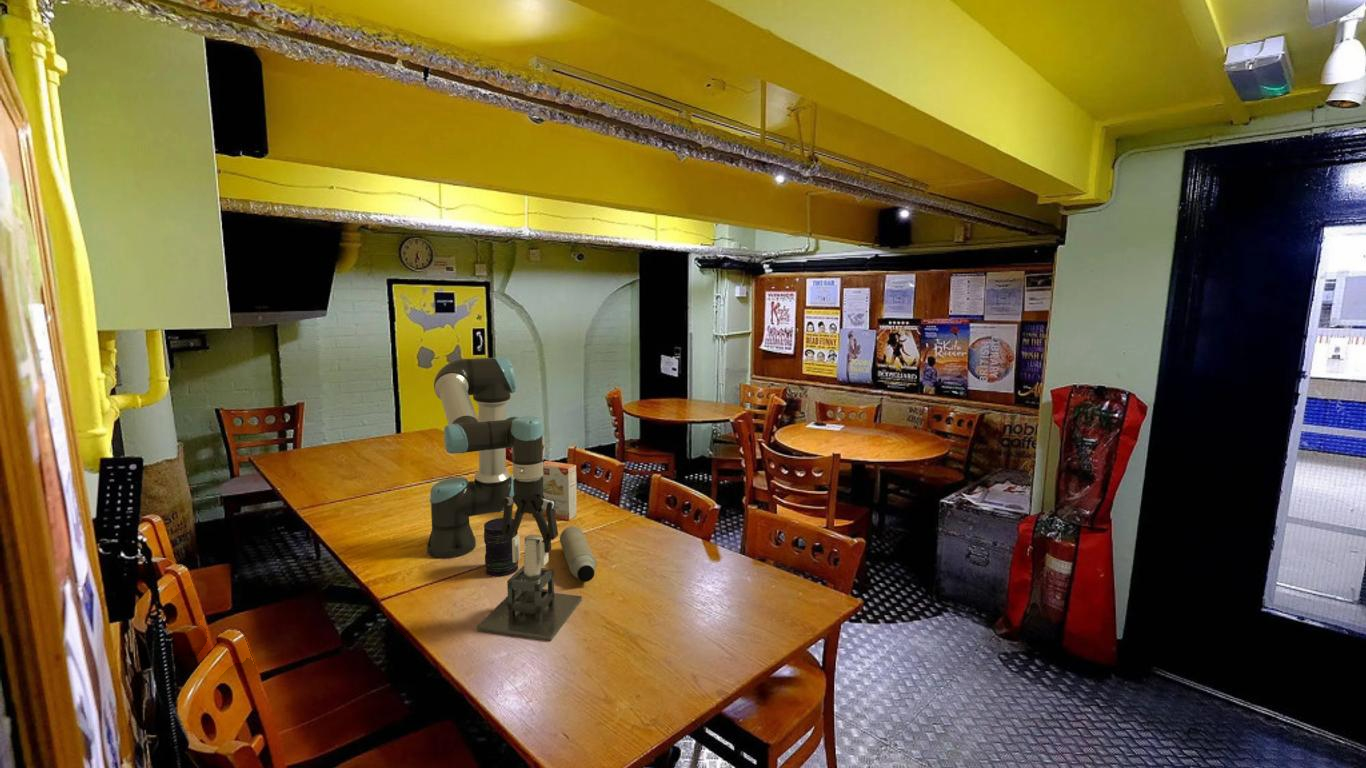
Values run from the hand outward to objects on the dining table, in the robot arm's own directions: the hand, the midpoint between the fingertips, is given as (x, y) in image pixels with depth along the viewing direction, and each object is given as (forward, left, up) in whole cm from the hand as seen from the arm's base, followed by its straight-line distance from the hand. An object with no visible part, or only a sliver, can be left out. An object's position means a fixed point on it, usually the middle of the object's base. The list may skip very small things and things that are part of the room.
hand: (530, 561), depth 150 cm
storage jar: (-21, +22, -15) cm, 34 cm away
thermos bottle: (-6, +41, -11) cm, 43 cm away
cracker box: (-23, +68, -15) cm, 73 cm away
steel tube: (0, 0, -14) cm, 14 cm away
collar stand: (0, 0, -15) cm, 15 cm away
